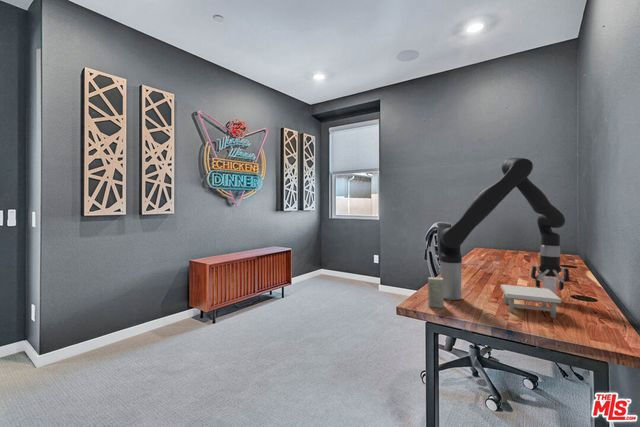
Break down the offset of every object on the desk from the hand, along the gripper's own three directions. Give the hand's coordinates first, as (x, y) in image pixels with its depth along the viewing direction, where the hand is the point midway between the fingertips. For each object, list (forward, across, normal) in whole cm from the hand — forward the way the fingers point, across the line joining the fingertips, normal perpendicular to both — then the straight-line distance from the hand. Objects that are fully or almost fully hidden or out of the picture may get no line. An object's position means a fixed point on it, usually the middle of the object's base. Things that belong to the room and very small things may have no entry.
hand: (549, 288), depth 143 cm
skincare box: (+5, -49, -33) cm, 59 cm away
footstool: (+5, -13, -23) cm, 27 cm away
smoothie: (+5, 0, 0) cm, 5 cm away
